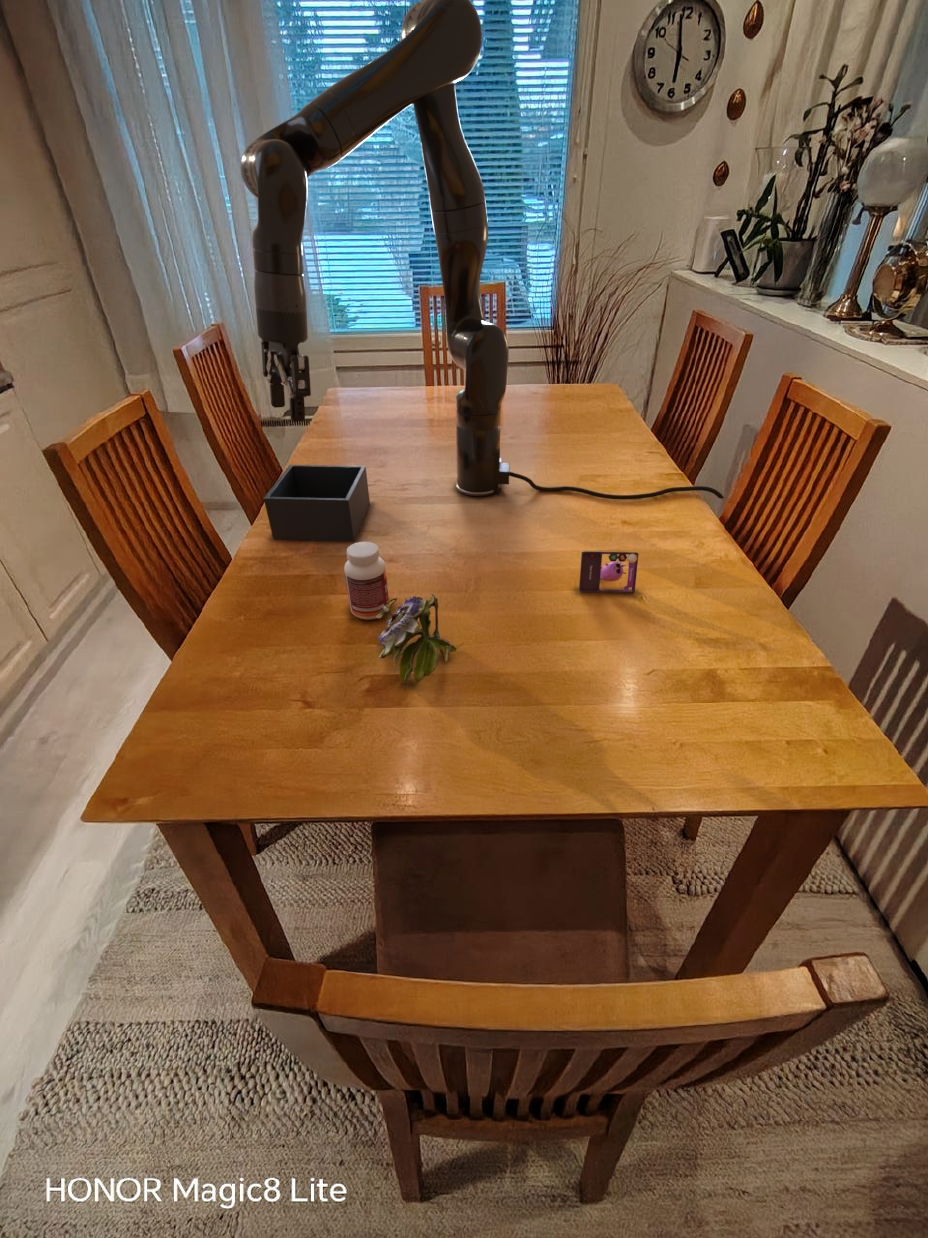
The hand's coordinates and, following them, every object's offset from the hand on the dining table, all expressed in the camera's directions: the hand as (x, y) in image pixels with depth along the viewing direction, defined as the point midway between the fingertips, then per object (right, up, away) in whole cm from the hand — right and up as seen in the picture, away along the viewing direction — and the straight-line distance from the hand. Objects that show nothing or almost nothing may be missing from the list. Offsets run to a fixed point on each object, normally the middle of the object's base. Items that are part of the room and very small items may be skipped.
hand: (287, 413), depth 99 cm
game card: (+53, -29, -1) cm, 61 cm away
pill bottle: (+15, -33, -6) cm, 37 cm away
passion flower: (+23, -40, -15) cm, 49 cm away
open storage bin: (+2, -15, +18) cm, 24 cm away
